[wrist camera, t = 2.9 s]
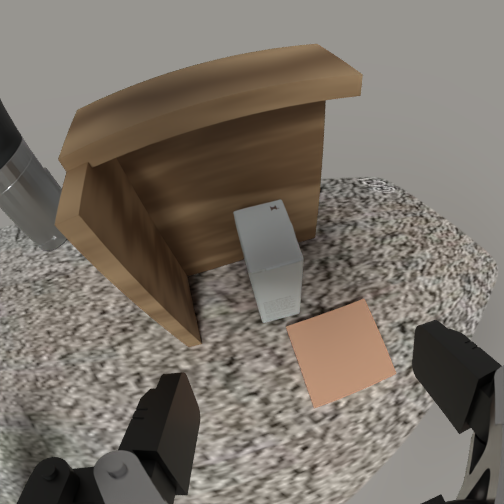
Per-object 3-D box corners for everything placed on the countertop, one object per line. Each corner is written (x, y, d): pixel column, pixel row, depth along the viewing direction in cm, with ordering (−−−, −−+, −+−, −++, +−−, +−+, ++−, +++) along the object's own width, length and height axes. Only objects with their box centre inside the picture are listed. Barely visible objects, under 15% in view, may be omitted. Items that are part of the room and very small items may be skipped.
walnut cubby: (174, 269, 35) (77, 109, 16) (310, 228, 36) (316, 43, 17) (188, 347, 30) (42, 212, 11) (343, 298, 31) (405, 109, 12)
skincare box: (249, 276, 34) (231, 208, 24) (285, 266, 34) (282, 196, 24) (261, 325, 31) (247, 274, 21) (300, 315, 31) (306, 258, 21)
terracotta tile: (286, 328, 30) (285, 326, 30) (363, 300, 31) (364, 298, 30) (313, 408, 25) (314, 408, 25) (394, 374, 26) (396, 373, 25)
